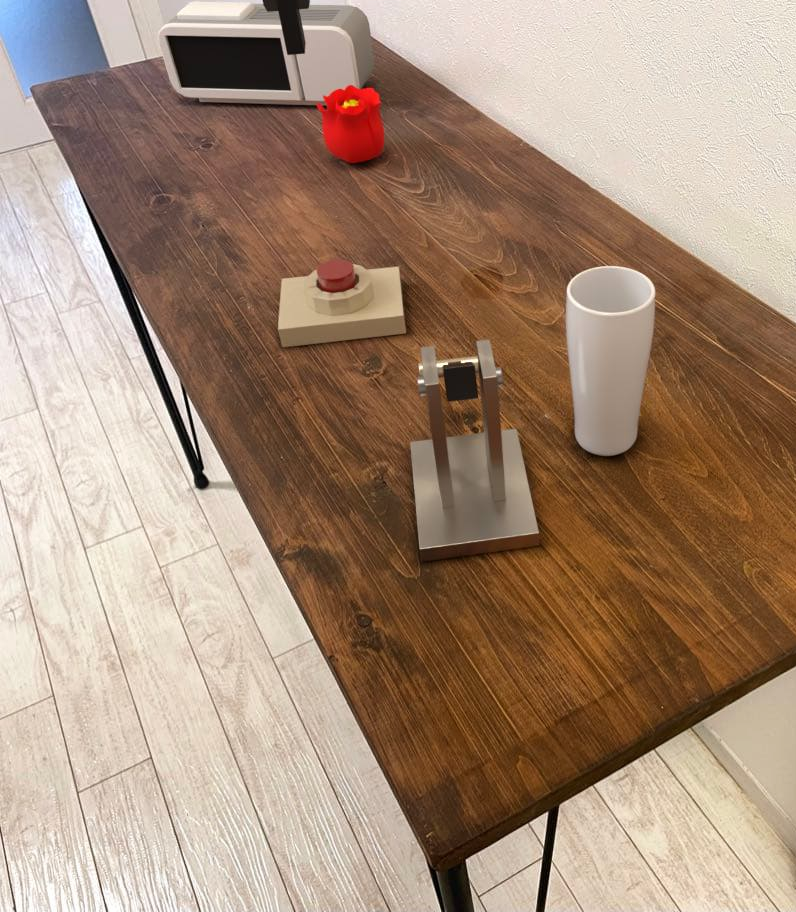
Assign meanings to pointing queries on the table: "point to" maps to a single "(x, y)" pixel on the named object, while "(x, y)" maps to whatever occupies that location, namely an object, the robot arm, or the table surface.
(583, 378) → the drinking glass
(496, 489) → the bracket
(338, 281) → the button
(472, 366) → the lever
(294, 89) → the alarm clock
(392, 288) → the button block
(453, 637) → the table surface
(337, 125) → the flower
